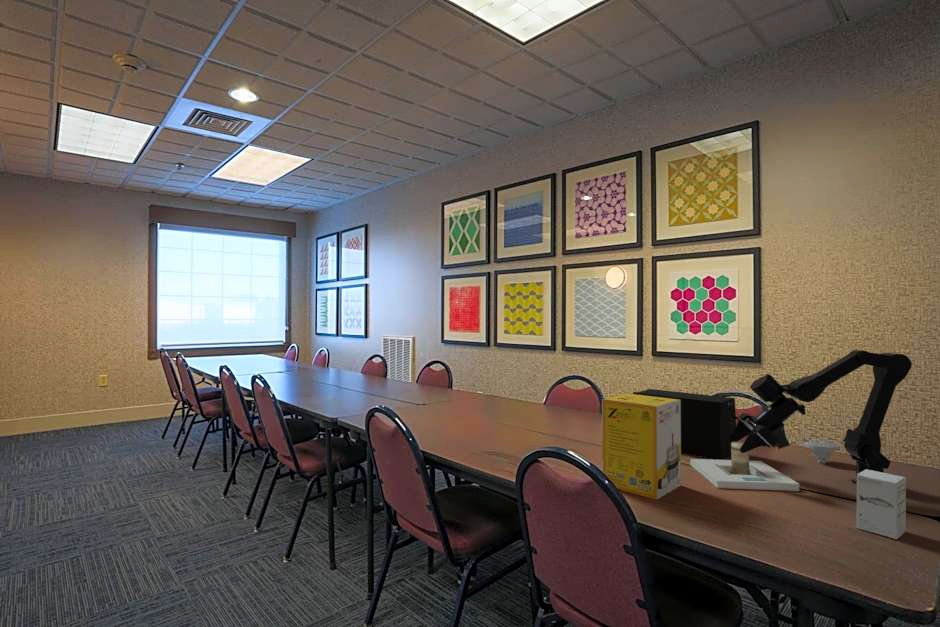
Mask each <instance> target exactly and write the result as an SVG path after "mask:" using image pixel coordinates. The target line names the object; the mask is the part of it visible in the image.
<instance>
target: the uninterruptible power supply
mask: <svg viewBox="0 0 940 627" xmlns="http://www.w3.org/2000/svg"><path fill="white" fill-rule="evenodd" d="M632 394H636V395H645V396H653V397H662V398H670V399H679V400H681V454H683V453H686V454H685V455H688V454H691V455H690V456H693V455H696V456H695V457H698V456H702V457H701V458H704V457H706V458H705V459H709V458H711V459H713V460H714V459H717V460H723V459H724V460H726V459H728V458H729V457H731V456H730V455H731V443H732V442H731V439H732V436H733V434H734V431H735V429H736V426H737V420H738V419H740V418H739V416H736V398H735V397H728V396H719V395H710V394H709V395H708V394H702V393H701V394H699V393H691V392H682V391H681V392H680V391H675V390H673V391H672V390H662V389H653V388H647V389H646V390H641V391H633V392H632ZM728 456H729V457H728ZM727 457H728V458H727ZM725 458H726V459H725Z"/></svg>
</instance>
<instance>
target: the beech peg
mask: <svg viewBox="0 0 940 627" xmlns="http://www.w3.org/2000/svg"><path fill="white" fill-rule="evenodd" d="M743 443H744V442H741V441H738V442H732V443H731V456H730V457H731V459H730V460H731V472H730V474H733V475H750V473H749V461H750V451H747V452H745V453H741V452H740V449H741V447H742V445H743Z"/></svg>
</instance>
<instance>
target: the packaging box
mask: <svg viewBox="0 0 940 627" xmlns="http://www.w3.org/2000/svg"><path fill="white" fill-rule="evenodd" d="M602 472H604V473H605V474H606V475H607V476H608V477H609V479H610V480H611V481H612V482H613V483H614V484H615V485H616V486H617V487H618V488H619V489H620V490H619V491H622V492H627V493H629V492H630V493H629V494H633V495H638V496H641V497H644V498H648V499H651V498H652V500H655V499H656V501H657V499H658V500H659V499H661V498H663V497H664V496H666V495H667V493H668V494H669V493H671V492H673V491H674V490H676V489H678V488H679V487H681V486H682V453H681V400H679V399H670V398H662V397H653V396H645V395H636V394H633V393H624V394H620V395H615V396H611V397H607V398H602V399H601V473H602ZM677 487H678V488H677ZM672 490H673V491H672ZM662 496H663V497H662Z"/></svg>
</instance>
